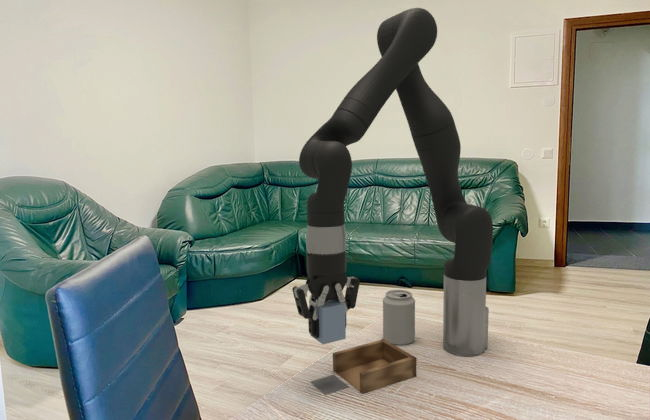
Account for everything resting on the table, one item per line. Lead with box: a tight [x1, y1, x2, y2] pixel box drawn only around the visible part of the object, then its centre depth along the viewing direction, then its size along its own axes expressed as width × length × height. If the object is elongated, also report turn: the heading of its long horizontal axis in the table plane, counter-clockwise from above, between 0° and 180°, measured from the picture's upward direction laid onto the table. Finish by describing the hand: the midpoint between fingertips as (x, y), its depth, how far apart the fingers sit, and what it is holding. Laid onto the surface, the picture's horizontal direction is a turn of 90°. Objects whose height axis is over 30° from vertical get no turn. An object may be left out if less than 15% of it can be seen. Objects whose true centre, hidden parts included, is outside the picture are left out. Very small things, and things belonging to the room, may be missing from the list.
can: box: [382, 289, 416, 346], centre depth 119 cm, size 8×8×12 cm
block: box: [309, 299, 347, 345], centre depth 97 cm, size 5×5×7 cm
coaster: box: [310, 374, 350, 396], centre depth 99 cm, size 6×6×1 cm
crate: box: [332, 338, 417, 395], centre depth 102 cm, size 13×11×4 cm
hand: (327, 333), depth 97 cm, fingers closed on block, 5 cm apart
